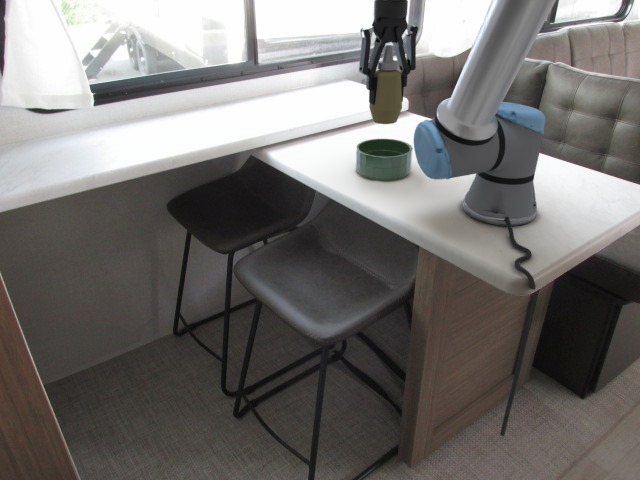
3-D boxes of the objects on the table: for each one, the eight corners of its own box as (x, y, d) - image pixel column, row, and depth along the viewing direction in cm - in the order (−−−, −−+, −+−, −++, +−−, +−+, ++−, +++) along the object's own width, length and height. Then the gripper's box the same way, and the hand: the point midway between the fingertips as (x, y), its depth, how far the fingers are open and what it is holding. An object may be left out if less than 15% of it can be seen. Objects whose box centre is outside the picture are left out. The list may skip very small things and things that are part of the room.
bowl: (420, 177, 130) (422, 153, 127) (369, 185, 126) (369, 160, 123) (395, 158, 142) (396, 136, 138) (347, 165, 138) (348, 142, 135)
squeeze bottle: (402, 117, 130) (407, 43, 121) (399, 127, 123) (404, 48, 114) (371, 116, 132) (374, 42, 123) (366, 125, 125) (368, 47, 116)
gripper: (421, -5, 119) (413, 94, 131) (344, -2, 114) (343, 102, 126) (437, -3, 113) (428, 101, 125) (357, 1, 108) (355, 109, 119)
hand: (385, 101), depth 125 cm, fingers closed on squeeze bottle, 6 cm apart
